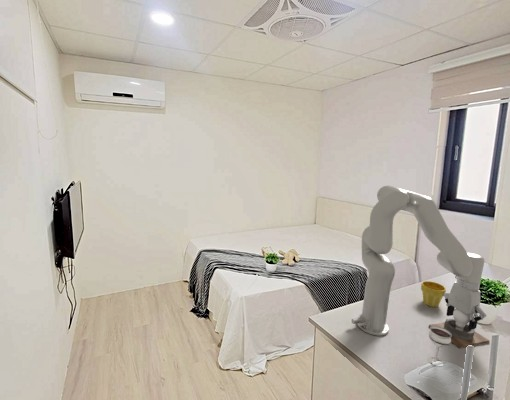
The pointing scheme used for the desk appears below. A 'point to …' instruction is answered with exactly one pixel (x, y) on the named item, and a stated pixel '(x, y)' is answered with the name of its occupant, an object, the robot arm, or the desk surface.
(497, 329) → the desk surface
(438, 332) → the wineglass
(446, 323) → the bulb holder
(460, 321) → the lightbulb
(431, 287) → the plant pot
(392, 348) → the desk surface
